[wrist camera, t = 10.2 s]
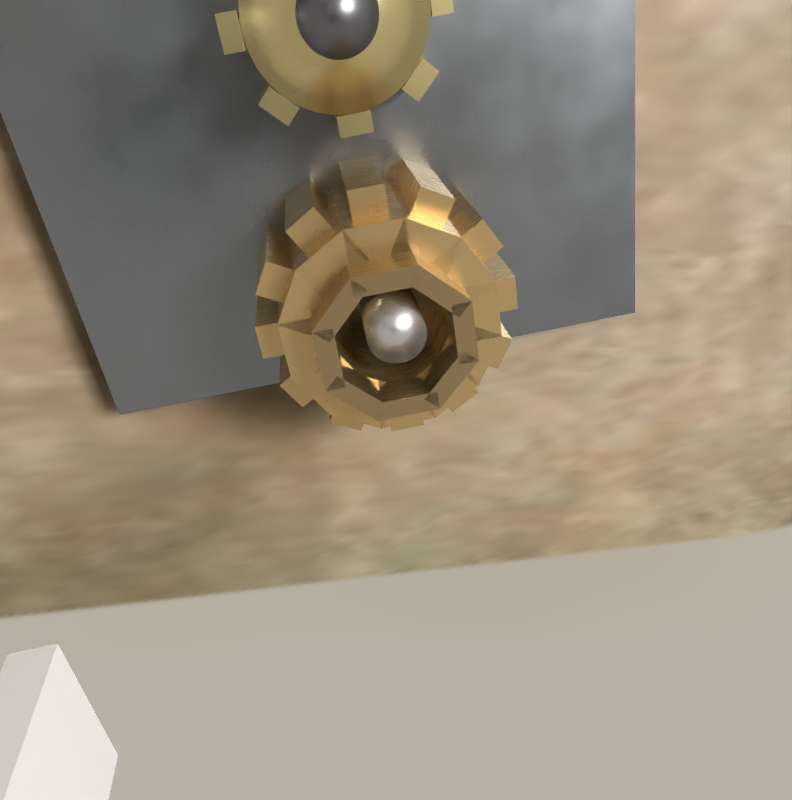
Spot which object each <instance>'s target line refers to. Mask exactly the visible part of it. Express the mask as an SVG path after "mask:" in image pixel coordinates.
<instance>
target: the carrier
mask: <svg viewBox="0 0 792 800" xmlns="http://www.w3.org/2000/svg"><path fill="white" fill-rule="evenodd" d="M0 113H1V115H2V118H3V120H4V123H5V125H6V128H7V130H8V133H9V136H10V138H11V141H12V143H13V146H14V148H15V151H16V153H17V156H18V158H19V161H20V163H21V166H22V169H23V171H24V174H25V176H26V179H27V181H28V184H29V186H30V189H31V191H32V194H33V196H34V199H35V201H36V204H37V207H38V209H39V212H40V214H41V217H42V219H43V222H44V224H45V227H46V229H47V232H48V234H49V237H50V240H51V242H52V245H53V247H54V250H55V252H56V255H57V257H58V260H59V262H60V265H61V267H62V270H63V272H64V275H65V278H66V280H67V283H68V285H69V288H70V290H71V293H72V295H73V298H74V300H75V303H76V305H77V308H78V311H79V313H80V316H81V318H82V321H83V323H84V326H85V328H86V331H87V333H88V336H89V338H90V341H91V343H92V346H93V349H94V351H95V354H96V356H97V359H98V361H99V364H100V366H101V369H102V371H103V374H104V376H105V379H106V382H107V384H108V387H109V389H110V392H111V394H112V397H113V399H114V402H115V404H116V407H117V409H118V412H119V414H125V413H130V412H135V411H140V410H145V409H150V408H155V407H161V406H166V405H171V404H176V403H181V402H186V401H191V400H196V399H201V398H206V397H211V396H216V395H221V394H226V393H231V392H236V391H241V390H246V389H251V388H256V387H261V386H266V385H271V384H277V383H280V356H276V357H270V358H265V359H263V356H262V352H261V349H260V345H259V341H258V338H257V334H256V330H255V319H256V308H257V298H258V295H255V293H256V283H257V274H258V264H259V255H260V251H261V247H262V244H263V241H264V238H265V234H266V231H267V228H268V225H269V224H270V225H273V226H276V227H279V228H282V229H285V198H286V197H287V196H288V195H289V194H291V193H292V192H293V191H294V190H295V189H296V188H297V187H298V186H300V185H301V184H302V183H303V182H304V181H305V180H306V179H307V178H309V177H311V178H312V179H313V181H314V182H315V183H316V184H317V185H318V186H319V188H320V189H321V190H322V191H323V192H324V193H325V194H327V193H328V192H330V191H331V190H332V189H333V188H337V187H342V186H343V184H342V178H341V173H340V168H339V163H338V162H343V161H348V160H353V159H359V158H364V157H369V156H371V157H372V159H373V161H374V163H375V165H376V167H377V169H378V171H379V173H380V175H381V177H382V179H384V178H385V179H388V180H391V181H393V182H394V180H395V178H396V175H397V172H398V170H399V167H400V164H401V161H402V159H404V160H407V161H410V162H412V163H415V164H418V165H420V166H423V167H426V168H428V169H431V170H433V171H434V173H435V174H436V175H437V176H438V178H439V179H440V180H441V181H442V183H443V184H444V185H445V186H446V188H447V189H448V190H449V192H450V193H451V192H453V191H454V190H455V189H456V188H457V189H458V190H459V191H460V192H461V194H462V195H463V196H464V197H465V198H466V200H467V201H468V202H469V203H470V204H471V206H472V207H473V208H474V209H475V210H476V211H477V213H478V214H479V215H480V216H481V217H482V219H483V220H484V221H485V223H486V224H487V225H488V226H489V228H490V229H491V230H492V232H493V233H494V234H495V236H496V237H497V238H498V240H499V241H500V242H501V243H502V245H503V246H504V247H502V248H501V249H500V250H499V251H497V254H498V255H499V256H500V258H501V259H502V260H503V261H504V263H505V264H506V265H507V266H508V268H509V269H510V270H511V272H512V273H513V274H514V275H515V280H516V292H517V305H518V309H514V310H509V311H504V312H500V321H501V323H502V324H503V326H504V327H505V329H506V331H507V332H508V334H509V335H510V337H514V336H519V335H524V334H529V333H534V332H539V331H544V330H549V329H554V328H559V327H564V326H569V325H574V324H579V323H584V322H589V321H594V320H599V319H604V318H609V317H614V316H619V315H625V314H630V313H635V0H0ZM417 293H418V290H416V289H415V288H413V287H411V288H406V289H401V290H396V291H391V292H386V293H381V294H376V295H370V296H365V297H363V298H362V299H361V300H360V302H359V303H358V304H357V306H356V307H355V309H354V310H353V311H352V313H351V315H354V316H357V317H360V318H362V321H363V325H364V330H365V334H366V339H367V343H368V346H369V349H370V350H371V352H372V353H373V354H374V355H375V356H376V357H377V358H379V359H380V360H382V361H385V362H388V363H403V362H406V361H409V360H411V359H413V358H414V357H416V356H417V355H418V354H419V353H420V352H421V350H422V349H423V347H424V345H425V343H426V340H427V328H426V325H425V322H424V320H423V317H422V315H421V312H420V310H419V307H418V305H417V302H416V300H415V298H416V296H417Z"/></svg>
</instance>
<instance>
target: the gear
mask: <svg viewBox="0 0 792 800" xmlns="http://www.w3.org/2000/svg"><path fill="white" fill-rule="evenodd" d="M338 163H339V168H340V173H341V178H342V184H343V186H342V187H337V188H333V189H332V190H331V191H330V192H328V193H327V194H325V193H324V192H323V191H322V190H321V189H320V188H319V186H318V185H317V184H316V183H315V182H314V181H313V179H312V178H311V177H309V178H307V179H306V180H305V181H304V182H303V183H302V184H301V185H300V186H298V187H297V188H296V189H295V190H294V191H293V192H292V193H291V194H289V195H288V196H287V197H286V198H285V229H282V228H279V227H276V226H273V225H270V224H269V225H268V228H267V231H266V234H265V238H264V241H263V244H262V247H261V251H260V255H259V264H258V274H257V283H256V293H255V295H258V298H257V308H256V319H255V330H256V334H257V338H258V341H259V345H260V349H261V352H262V356H263V359H265V358H270V357H276V356H280V384H279V385H280V386H281V387H282V388H283V389H284V390H285V391H286V392H287V393H288V394H289V395H290V396H291V397H292V398H293V399H294V400H295V401H296V402H298V403H299V404H300V405H301V406H302V407H304V406H305V405H306V404H308V403H309V402H310V401H311V400H313V399H314V400H315V401H316V402H317V403H318V404H319V405H320V406H321V407H322V408H323V409H324V410H325V411H326V412H327V413H328V414H329V419H330V422H331V423H335V424H339V425H342V426H346V427H350V428H354V429H358V430H361V429H362V426H363V424H367V425H371V426H375V427H378V428H386V427H391V429H392V431H395V430H400V429H405V428H410V427H415V426H420V425H424V423H423V420H426V419H430V418H435V417H437V416H438V415H439V414H441V413H442V412H443V411H445V410H446V409H447V408H449V409H450V410H451V411H452V412H453V411H454V410H456V409H457V408H458V407H460V406H461V405H462V404H464V403H465V402H466V401H467V400H469V399H470V398H471V397H473V396H474V395H475V394H477V393H478V391H477V389H476V386H478V385H479V383H480V381H481V379H482V377H483V375H484V373H485V371H486V368H487V366H488V365H489V366H492V367H495V368H498V367H499V365H500V363H501V361H502V359H503V357H504V355H505V353H506V351H507V349H508V347H509V344H510V342H511V340H512V339H511V337H510V335H509V334H508V332H507V331H506V329H505V327H504V326H503V324H502V323H501V321H500V312H504V311H509V310H514V309H518V305H517V292H516V280H515V275H514V274H513V273H512V272H511V270H510V269H509V268H508V266H507V265H506V264H505V263H504V261H503V260H502V259H501V258H500V256H499V255H498V254H497V251H499V250H500V249H501V248H502V247H504V246H503V245H502V243H501V242H500V241H499V240H498V238H497V237H496V236H495V234H494V233H493V232H492V230H491V229H490V228H489V226H488V225H487V224H486V223H485V221H484V220H483V219H482V217H481V216H480V215H479V214H478V213H477V211H476V210H475V209H474V208H473V207H472V206H471V204H470V203H469V202H468V201H467V200H466V198H465V197H464V196H463V195H462V194H461V192H460V191H459V190H458V189H457V188H456V189H455V190H454V191H453V192H451V193H450V192H449V190H448V189H447V188H446V186H445V185H444V184H443V183H442V181H441V180H440V179H439V178H438V176H437V175H436V174H435V173H434V171H433V170H431V169H428V168H426V167H423V166H420V165H418V164H415V163H412V162H410V161H407V160H404V159H402V161H401V164H400V167H399V170H398V172H397V175H396V178H395V180H394V182H393V181H391V180H388V179H385V178H384V179H382V177H381V175H380V173H379V171H378V169H377V167H376V165H375V163H374V161H373V159H372V157H371V156H369V157H364V158H359V159H353V160H348V161H343V162H338ZM411 287H413V288H415V289H416V290H418V293H417V296H416V298H415V300H416V302H417V305H418V307H419V310H420V312H421V315H422V317H423V320H424V322H425V325H426V328H427V340H426V343H425V345H424V347H423V349H422V350H421V352H420V353H419V354H418V355H417V356H416V357H414V358H413V359H411V360H409V361H406V362H403V363H388V362H385V361H382V360H380V359H379V358H377V357H376V356H375V355H374V354H373V353H372V352H371V350H370V349H369V346H368V343H367V339H366V334H365V330H364V325H363V321H362V318H360V317H357V316H354V315H351V313H352V311H353V310H354V309H355V307H356V306H357V304H358V303H359V302H360V300H361V299H362V298H363V297H365V296H370V295H376V294H381V293H386V292H391V291H396V290H401V289H406V288H411Z"/></svg>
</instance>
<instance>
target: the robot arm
mask: <svg viewBox="0 0 792 800" xmlns="http://www.w3.org/2000/svg"><path fill="white" fill-rule="evenodd" d="M117 757H118V755H117V753H116V751H115V749H114V747H113V746H112V744H111V742H110V740H109V738H108V736H107V734H106V732H105V731H104V729H103V727H102V725H101V723H100V721H99V720H98V718H97V716H96V714H95V712H94V710H93V708H92V706H91V705H90V703H89V701H88V699H87V697H86V695H85V694H84V692H83V690H82V688H81V686H80V684H79V682H78V680H77V679H76V677H75V675H74V673H73V671H72V670H71V667H70V666H69V664H68V662H67V660H66V659H65V656H64V655H63V653H62V651H61V649H60V647H59V645H58V643H57V644H52V645H48V646H43V647H38V648H33V649H29V650H24V651H19V652H14V653H9V654H8V655H7V657H6V660H5V662H4V664H3V667H2V669H1V671H0V800H108V799H109V794H110V789H111V785H112V781H113V776H114V771H115V767H116V762H117Z"/></svg>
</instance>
